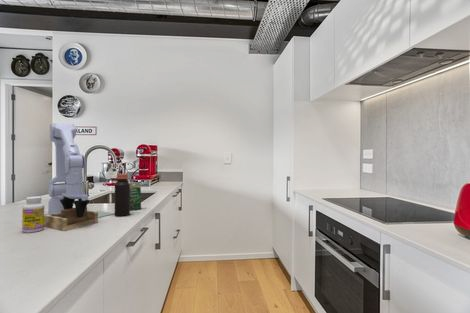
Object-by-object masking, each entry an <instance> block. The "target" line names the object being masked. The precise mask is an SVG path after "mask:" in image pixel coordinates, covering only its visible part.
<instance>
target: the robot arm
mask: <svg viewBox="0 0 470 313" xmlns="http://www.w3.org/2000/svg"><path fill="white" fill-rule="evenodd" d="M76 136H77V127H76V125H75V124H69V123H67V124H66V123H58V122H57V123H56V122H51V123H50V125H49V139H50V141H51V142H52V143H54V147H55V177H53V178H52V179H50V180H49V182H48V189H47V190H48V196H49V197H50V198H49V200H48V208H47V210H48V211H47V214H46V215H50V214H52V213H57V212H61V210H65V209H70V208H76V214H77V218H80V217H83V215H84V212H85V209H86V207H87V206H88V204H89V203H90V199H89V195H88V194H86V193H85V192H83V186H84V185H83V181H84V179H83V176H84V175H83V173H84V172H83V169H84V168H85V162H86V161H85V160H86V159H85V156H84V154H82V153H81V151H80V149H79V146H78V145H77V143H75V140H74V139H75V138H76Z"/></svg>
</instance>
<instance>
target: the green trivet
mask: <svg viewBox="0 0 470 313" xmlns="http://www.w3.org/2000/svg"><path fill="white" fill-rule="evenodd" d="M94 212H98V219H99V218H104V217H107V216H113V215H115V212H111V211H110V212H109V211H102V210H96V211H94Z"/></svg>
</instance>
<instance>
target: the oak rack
mask: <svg viewBox="0 0 470 313" xmlns="http://www.w3.org/2000/svg"><path fill="white" fill-rule="evenodd" d="M98 221H99V218H98V212H95V211H93V210H88V209H87V221H85V222H81V223H76V224H72V225H68V226H67V219H66V218H61V217H56V216H51V215H47V214H45V213H44V228H45V227H46V228H49V229H54V230H59V231H63V232H66V231H69V230H73V229H77V228H83V227H84V226H90V225H92V224H94V225H95V224H97V223H99V222H98Z"/></svg>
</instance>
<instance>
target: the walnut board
mask: <svg viewBox="0 0 470 313" xmlns="http://www.w3.org/2000/svg"><path fill="white" fill-rule="evenodd" d="M87 210H88V207H87V206H86V209H85V212H84V215H83V217H80V218H77V214H76V207H73V208H70V209H65V210H61V218H66V219H67V226H68V225H72V224H76V223H81V222H85V221H87Z"/></svg>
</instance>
